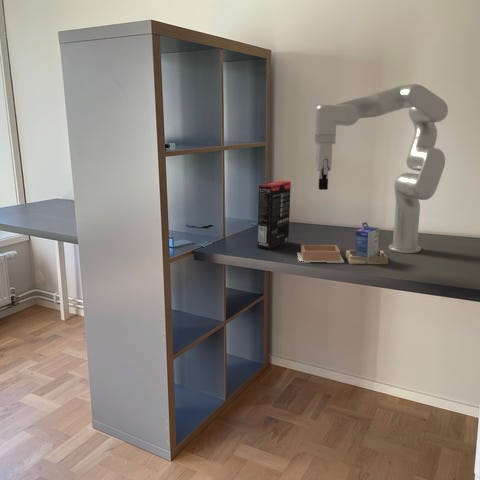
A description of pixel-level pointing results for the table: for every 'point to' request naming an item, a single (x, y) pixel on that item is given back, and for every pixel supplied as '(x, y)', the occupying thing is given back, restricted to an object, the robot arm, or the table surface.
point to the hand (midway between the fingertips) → (323, 189)
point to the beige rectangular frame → (353, 259)
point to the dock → (320, 254)
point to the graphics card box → (273, 214)
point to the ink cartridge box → (367, 242)
